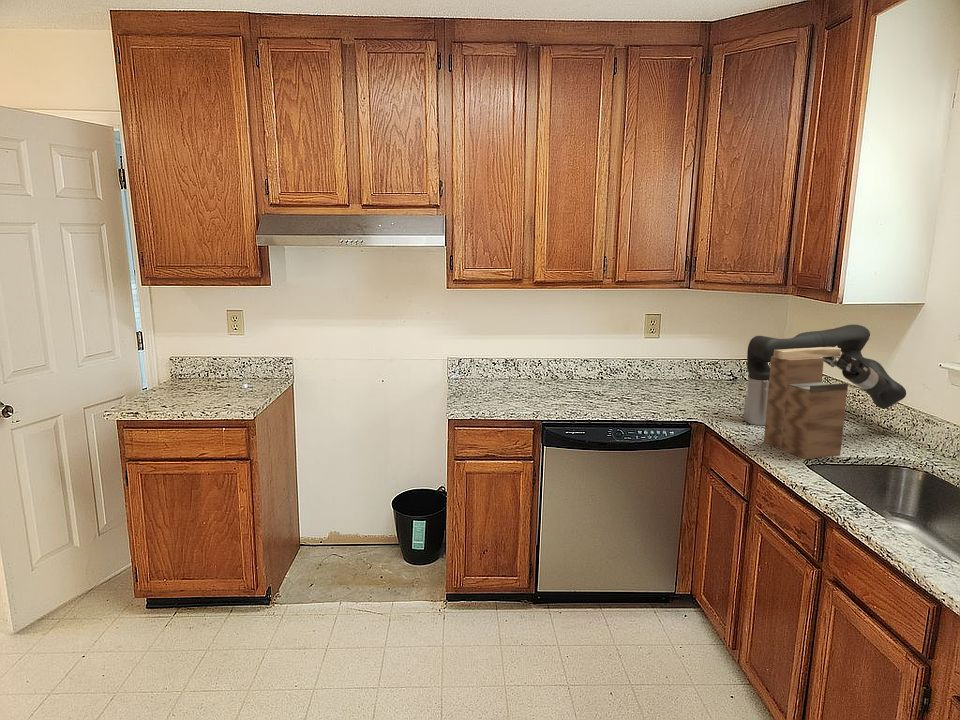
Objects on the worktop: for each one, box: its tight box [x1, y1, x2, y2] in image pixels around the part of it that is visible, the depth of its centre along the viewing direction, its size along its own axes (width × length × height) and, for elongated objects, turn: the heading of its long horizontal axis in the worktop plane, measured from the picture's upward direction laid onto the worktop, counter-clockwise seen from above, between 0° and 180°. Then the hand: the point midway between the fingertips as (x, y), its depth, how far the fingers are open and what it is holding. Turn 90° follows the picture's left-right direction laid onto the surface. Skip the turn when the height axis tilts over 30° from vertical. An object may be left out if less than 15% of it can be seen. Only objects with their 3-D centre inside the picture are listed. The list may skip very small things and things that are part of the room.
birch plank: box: [773, 346, 842, 359], centre depth 206 cm, size 4×24×2 cm, turn 108°
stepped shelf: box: [763, 356, 849, 460], centre depth 203 cm, size 18×14×30 cm
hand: (831, 353), depth 209 cm, fingers open, 8 cm apart
